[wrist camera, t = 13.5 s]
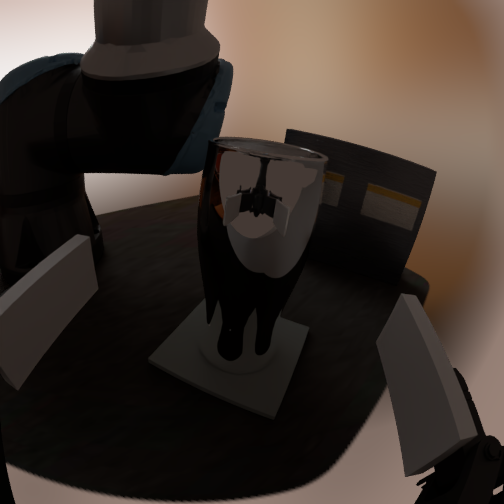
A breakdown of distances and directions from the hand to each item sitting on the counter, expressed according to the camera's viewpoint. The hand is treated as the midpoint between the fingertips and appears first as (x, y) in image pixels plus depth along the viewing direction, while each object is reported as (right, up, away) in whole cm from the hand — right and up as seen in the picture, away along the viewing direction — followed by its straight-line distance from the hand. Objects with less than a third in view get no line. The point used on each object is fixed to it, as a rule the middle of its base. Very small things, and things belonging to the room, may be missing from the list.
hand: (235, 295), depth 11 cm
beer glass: (-1, -6, +11) cm, 12 cm away
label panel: (+12, 0, +27) cm, 29 cm away
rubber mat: (-1, -6, +11) cm, 12 cm away
